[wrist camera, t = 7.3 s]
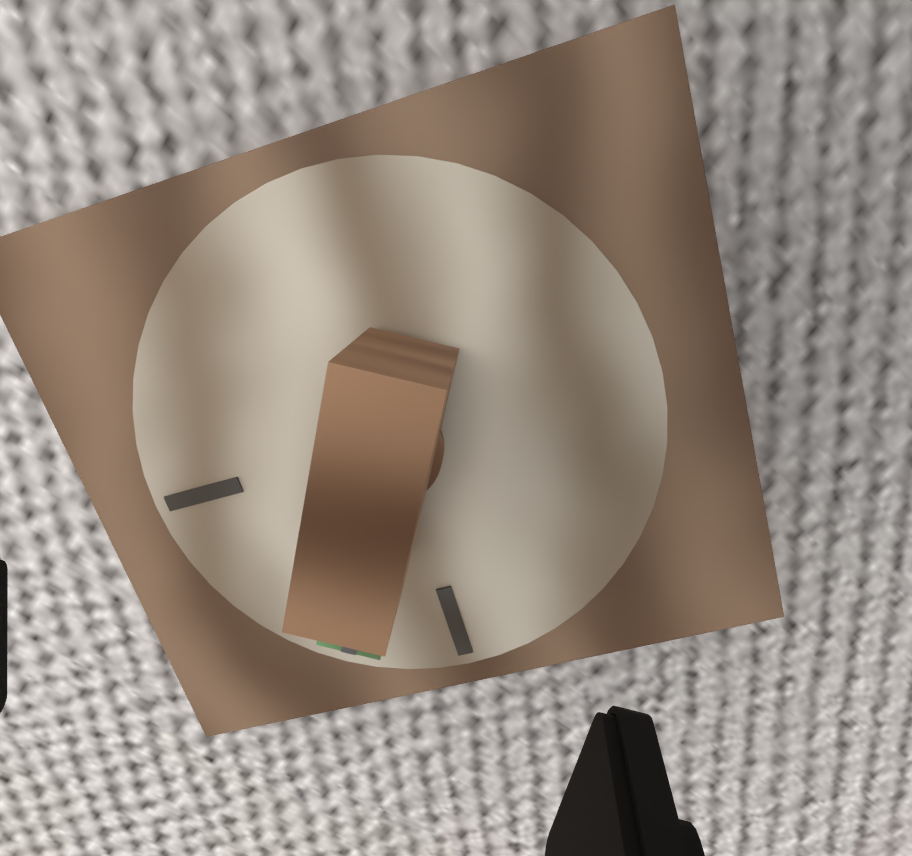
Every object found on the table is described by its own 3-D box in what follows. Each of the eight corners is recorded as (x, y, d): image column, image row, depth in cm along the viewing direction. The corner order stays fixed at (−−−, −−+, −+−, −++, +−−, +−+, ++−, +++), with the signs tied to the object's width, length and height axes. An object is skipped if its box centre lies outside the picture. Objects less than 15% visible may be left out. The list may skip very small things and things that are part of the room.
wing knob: (364, 322, 22) (315, 359, 16) (469, 347, 22) (458, 393, 16) (305, 635, 26) (251, 753, 20) (395, 656, 26) (366, 779, 20)
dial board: (662, 19, 21) (677, 1, 19) (768, 594, 26) (787, 621, 25) (-1, 246, 24) (-40, 248, 22) (220, 711, 30) (203, 741, 28)
